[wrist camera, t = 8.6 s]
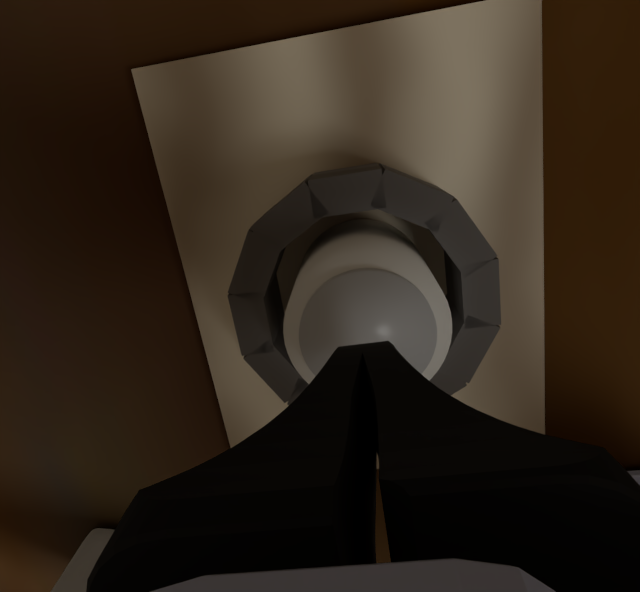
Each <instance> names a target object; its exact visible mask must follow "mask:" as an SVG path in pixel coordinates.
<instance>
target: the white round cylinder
mask: <svg viewBox="0 0 640 592" xmlns="http://www.w3.org/2000/svg"><path fill="white" fill-rule="evenodd" d="M283 335H284V342H285V346H286V350H287V353H288V355H289V358H290V360H291V362H292V364H293V366H294V367H295V369H296V370H297V372H298V373H299V374H300V375H301V377H302V378H303V379H304V380H305V381H306V382H307V383H308V384H310V383H311V381H312V380H313V379H314V378H315V376H316V375H317V374H318V373H319V371H320V370H321V369H322V367H323V366H324V365H325V363H326V362H327V361H328V359H329V358H330V356H331V355H332V354H333V352H334V351H335V350H336V349H337V347H340V346H348V345H356V344H365V343H373V342H381V341H389V342H391V343H392V344H393V345H394V347H395V348H396V349H397V350H398V352H399V353H400V354H401V355H402V356H403V357H404V358H405V359H406V360H407V361H408V362H409V363H410V364H411V365H412V366H413V367H414V368H415V369H416V370H417V371H418V372H420V373H421V374H422V375H423V376H424V377H425V378H426V379H428V380H430V379H431V378H432V377H433V376H434V375H435V374H436V372H437V371H438V370H439V368H440V367H441V365H442V364H443V362H444V360H445V358H446V355H447V353H448V350H449V347H450V343H451V337H452V317H451V311H450V308H449V305H448V301H447V299H446V297H445V295H444V293H443V291H442V289H441V288H440V286H439V284H438V283H437V281H436V279H435V278H434V276H433V274H432V273H431V271H430V269H429V268H428V266H427V264H426V263H425V261H424V259H423V257H422V256H421V254H420V252H419V251H418V249H417V248H416V246H415V245H414V243H413V242H412V241H411V240H410V239H409V238H408V237H407V236H406V235H405V234H404V233H403V232H402V231H400V230H398V229H397V228H395V227H393V226H391V225H389V224H387V223H384V222H381V221H377V220H371V219H357V220H350V221H345V222H342V223H340V224H337V225H335V226H333V227H331V228H329V229H328V230H326V231H325V232H323V233H322V234H321V235H320V236H319V237H318V238H316V240H315V241H314V242H313V243H312V244H311V246H310V247H309V249H308V250H307V252H306V254H305V256H304V258H303V261H302V264H301V267H300V270H299V272H298V275H297V278H296V281H295V284H294V287H293V290H292V293H291V296H290V299H289V301H288V305H287V308H286V311H285V316H284V323H283Z"/></svg>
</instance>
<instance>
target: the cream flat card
mask: <svg viewBox="0 0 640 592" xmlns="http://www.w3.org/2000/svg"><path fill="white" fill-rule="evenodd" d="M131 71H132V75H133V79H134V83H135V86H136V90H137V94H138V98H139V102H140V105H141V109H142V113H143V117H144V121H145V124H146V128H147V132H148V136H149V140H150V143H151V147H152V151H153V155H154V159H155V162H156V166H157V170H158V174H159V177H160V181H161V185H162V189H163V193H164V196H165V200H166V204H167V208H168V212H169V215H170V219H171V223H172V227H173V231H174V234H175V238H176V242H177V246H178V250H179V253H180V257H181V261H182V265H183V269H184V272H185V276H186V280H187V284H188V288H189V291H190V295H191V299H192V303H193V307H194V310H195V314H196V318H197V322H198V326H199V329H200V333H201V337H202V341H203V345H204V348H205V352H206V356H207V360H208V364H209V367H210V371H211V375H212V379H213V383H214V386H215V390H216V394H217V398H218V402H219V405H220V409H221V413H222V417H223V421H224V424H225V428H226V432H227V436H228V440H229V443H230V447H231V448H232V447H234V446H235V445H237V444H238V443H240V442H241V441H243V440H244V439H246V438H247V437H249V436H250V435H252V434H253V433H255V432H256V431H258V430H259V429H261V428H262V427H264V426H265V425H266V424H268V423H269V422H270V421H271V420H273V419H274V418H275V417H276V416H278V415H279V414H280V413H281V412H282V411H283V410H285V409H286V408H287V407H288V406H289V405H290V404H291V403H292V402H293V401H294V400H295V399H296V398H297V397H298V396H299V395H300V394H301V393H302V392H303V391H304V389H305V388H306V387H307V386H308V385H309V384H308V383H307V382H306V381H305V380H304V379H303V378H302V377H301V375H300V374H299V373H298V372H297V370H296V369H295V367H294V366H293V364H292V362H291V360H290V358H289V355H288V353H287V350H286V346H285V342H284V335H283V323H284V316H285V311H286V308H287V305H288V301H289V299H290V296H291V293H292V290H293V287H294V284H295V281H296V278H297V275H298V272H299V270H300V267H301V264H302V261H303V258H304V256H305V254H306V252H307V250H308V249H309V247H310V246H311V244H312V243H313V242H314V241H315V240H316V238H318V237H319V236H320V235H321V234H322V233H323V232H325V231H326V230H328V229H329V228H331V227H333V226H335V225H337V224H340V223H342V222H345V221H350V220H357V219H371V220H377V221H381V222H384V223H387V224H389V225H391V226H393V227H395V228H397V229H398V230H400V231H402V232H403V233H404V234H405V235H406V236H407V237H408V238H409V239H410V240H411V241H412V242H413V243H414V245H415V246H416V248H417V249H418V251H419V252H420V254H421V256H422V257H423V259H424V261H425V263H426V264H427V266H428V268H429V269H430V271H431V273H432V274H433V276H434V278H435V279H436V281H437V283H438V284H439V286H440V288H441V289H442V291H443V293H444V295H445V297H446V299H447V301H448V305H449V308H450V311H451V317H452V337H451V343H450V347H449V350H448V353H447V355H446V358H445V360H444V362H443V364H442V365H441V367H440V368H439V370H438V371H437V372H436V374H435V375H434V376H433V377H432V378H431V379H430V380H429V381H430V382H431V383H433V384H434V385H435V386H437V387H438V388H439V389H441V390H442V391H444V392H445V393H447V394H449V395H450V396H452V397H454V398H456V399H457V400H459V401H461V402H463V403H464V404H466V405H468V406H470V407H472V408H474V409H476V410H478V411H481V412H483V413H485V414H488V415H490V416H492V417H495V418H497V419H499V420H502V421H504V422H507V423H510V424H513V425H515V426H518V427H522V428H525V429H528V430H531V431H535V432H538V433H541V434H544V435H545V368H544V240H543V112H542V0H485V1H480V2H475V3H470V4H464V5H459V6H454V7H449V8H444V9H439V10H434V11H428V12H423V13H418V14H413V15H408V16H403V17H398V18H392V19H387V20H382V21H377V22H372V23H367V24H361V25H356V26H351V27H346V28H341V29H336V30H331V31H325V32H320V33H315V34H310V35H305V36H300V37H295V38H289V39H284V40H279V41H274V42H269V43H264V44H259V45H253V46H248V47H243V48H238V49H233V50H228V51H223V52H217V53H212V54H207V55H202V56H197V57H192V58H187V59H181V60H176V61H171V62H166V63H161V64H156V65H150V66H145V67H140V68H135V69H131ZM377 469H379V459H378V455H377Z"/></svg>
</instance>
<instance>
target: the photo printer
mask: <svg viewBox="0 0 640 592" xmlns="http://www.w3.org/2000/svg"><path fill="white" fill-rule="evenodd" d="M113 532H114V530H113V529H104V528H96V529H93V530H92V531H91V532H90V533H89V534H88V535H87V537H86V538H85V539H84V541H83V542H82V544H81V545H80V547H79V548H78V550H77V551H76V553H75V555H74V556H73V558H72V559H71V561H70V562H69V564H68V566H67V567H66V569H65V570H64V572H63V573H62V575H61V577H60V578H59V580H58V581H57V583H56V584H55V586H54V588H53V589H52V591H51V592H86V589H87V579H88V577H89V575H90V573H91V571H92V569H93V567H94V565H95V563H96V562H97V560H98V558H99V556H100V555H101V553H102V551H103V549H104V548H105V546H106V544H107V543H108V541H109V539H110V537H111V536H112V534H113Z"/></svg>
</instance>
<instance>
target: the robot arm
mask: <svg viewBox="0 0 640 592" xmlns="http://www.w3.org/2000/svg"><path fill="white" fill-rule="evenodd" d="M377 455H378V459H379V482H380V489H381V496H382V503H383V510H384V516H385V523H386V530H387V537H388V544H389V550H390V557H391V562H390V563H376V551H375V517H376V471H377ZM86 592H640V470H635V471H626V470H625V469H624V468H623V467H622V466H621V465H620V464H619V463H618V462H617V461H616V460H615V459H614V458H613V457H612V456H611V455H610V454H609V453H608V451H607V450H606V449H605V448H603V447H598V446H594V445H589V444H584V443H580V442H575V441H570V440H566V439H561V438H557V437H552V436H548V435H544V434H541V433H538V432H535V431H531V430H528V429H525V428H522V427H518V426H515V425H513V424H510V423H507V422H504V421H502V420H499V419H497V418H495V417H492V416H490V415H488V414H485V413H483V412H481V411H478V410H476V409H474V408H472V407H470V406H468V405H466V404H464V403H463V402H461V401H459V400H457V399H456V398H454V397H452V396H450V395H449V394H447V393H445V392H444V391H442V390H441V389H439V388H438V387H437V386H435V385H434V384H433V383H431V382H430V381H429V380H428V379H426V378H425V377H424V376H423V375H422V374H421V373H420V372H418V371H417V370H416V369H415V368H414V367H413V366H412V365H411V364H410V363H409V362H408V361H407V360H406V359H405V358H404V357H403V356H402V355H401V354H400V353H399V352H398V350H397V349H396V348H395V347H394V345H393V344H392V343H391V342H389V341H381V342H373V343H365V344H356V345H348V346H340V347H337V349H336V350H335V351H334V352H333V354H332V355H331V356H330V358H329V359H328V361H327V362H326V363H325V365H324V366H323V367H322V369H321V370H320V371H319V373H318V374H317V375H316V376H315V378H314V379H313V380H312V381H311V383H310V384H309V385H308V386H307V387H306V388H305V389H304V391H303V392H302V393H301V394H300V395H299V396H298V397H297V398H296V399H295V400H294V401H293V402H292V403H291V404H290V405H289V406H288V407H287V408H286V409H285V410H283V411H282V412H281V413H280V414H279V415H278V416H276V417H275V418H274V419H273V420H271V421H270V422H269V423H268V424H266V425H265V426H264V427H262V428H261V429H259V430H258V431H256V432H255V433H253V434H252V435H250V436H249V437H247V438H246V439H244V440H243V441H241V442H240V443H238V444H237V445H235V446H234V447H232V448H230V449H228V450H227V451H225V452H223V453H221V454H220V455H218V456H216V457H214V458H212V459H210V460H208V461H206V462H204V463H202V464H200V465H198V466H196V467H194V468H192V469H190V470H188V471H185V472H183V473H180V474H178V475H176V476H173V477H171V478H168V479H166V480H164V481H161V482H159V483H156V484H154V485H152V486H149V487H146V488H144V489H141V490H139V491H138V493H137V494H136V496H135V497H134V499H133V501H132V502H131V504H130V505H129V507H128V509H127V510H126V512H125V513H124V515H123V517H122V518H121V520H120V522H119V524H118V525H117V527H116V529H115V530H114V532H113V534H112V536H111V537H110V539H109V541H108V543H107V544H106V546H105V548H104V549H103V551H102V553H101V555H100V556H99V558H98V560H97V562H96V563H95V565H94V567H93V569H92V571H91V573H90V575H89V577H88V579H87V589H86Z"/></svg>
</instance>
